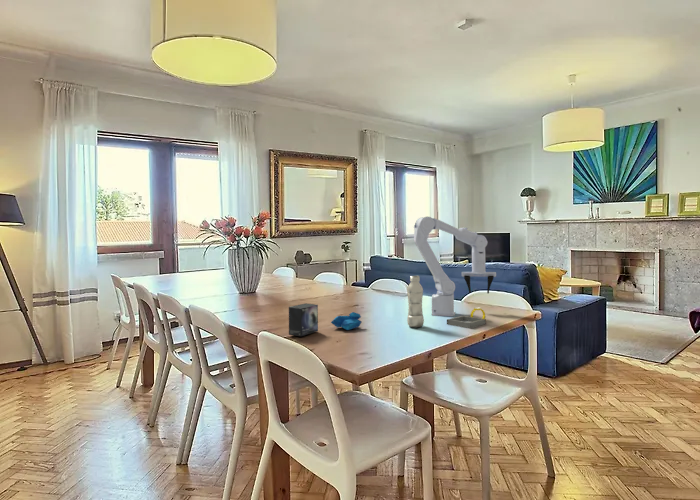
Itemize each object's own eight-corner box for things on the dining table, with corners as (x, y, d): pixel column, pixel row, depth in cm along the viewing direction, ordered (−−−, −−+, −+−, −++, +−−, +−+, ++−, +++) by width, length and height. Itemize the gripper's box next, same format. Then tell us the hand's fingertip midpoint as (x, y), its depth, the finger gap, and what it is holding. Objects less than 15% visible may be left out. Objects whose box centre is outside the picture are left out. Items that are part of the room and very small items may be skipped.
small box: (301, 337, 158) (301, 308, 157) (288, 335, 161) (287, 306, 161) (319, 331, 167) (318, 304, 166) (305, 329, 170) (305, 302, 170)
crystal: (358, 306, 175) (330, 308, 170) (366, 318, 167) (336, 320, 163) (356, 321, 178) (328, 324, 173) (363, 334, 170) (334, 337, 166)
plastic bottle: (425, 325, 172) (424, 275, 172) (422, 329, 166) (421, 277, 165) (409, 325, 174) (408, 275, 174) (405, 328, 168) (404, 276, 167)
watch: (482, 321, 179) (482, 306, 179) (486, 322, 176) (486, 307, 176) (469, 322, 178) (469, 307, 178) (473, 323, 175) (473, 308, 175)
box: (470, 329, 164) (470, 323, 164) (446, 325, 172) (446, 319, 172) (485, 325, 171) (485, 319, 171) (462, 321, 179) (462, 315, 179)
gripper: (461, 262, 190) (461, 293, 190) (496, 262, 185) (496, 294, 186) (462, 261, 197) (462, 291, 197) (495, 261, 192) (496, 292, 193)
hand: (478, 292), depth 192 cm, fingers open, 7 cm apart
